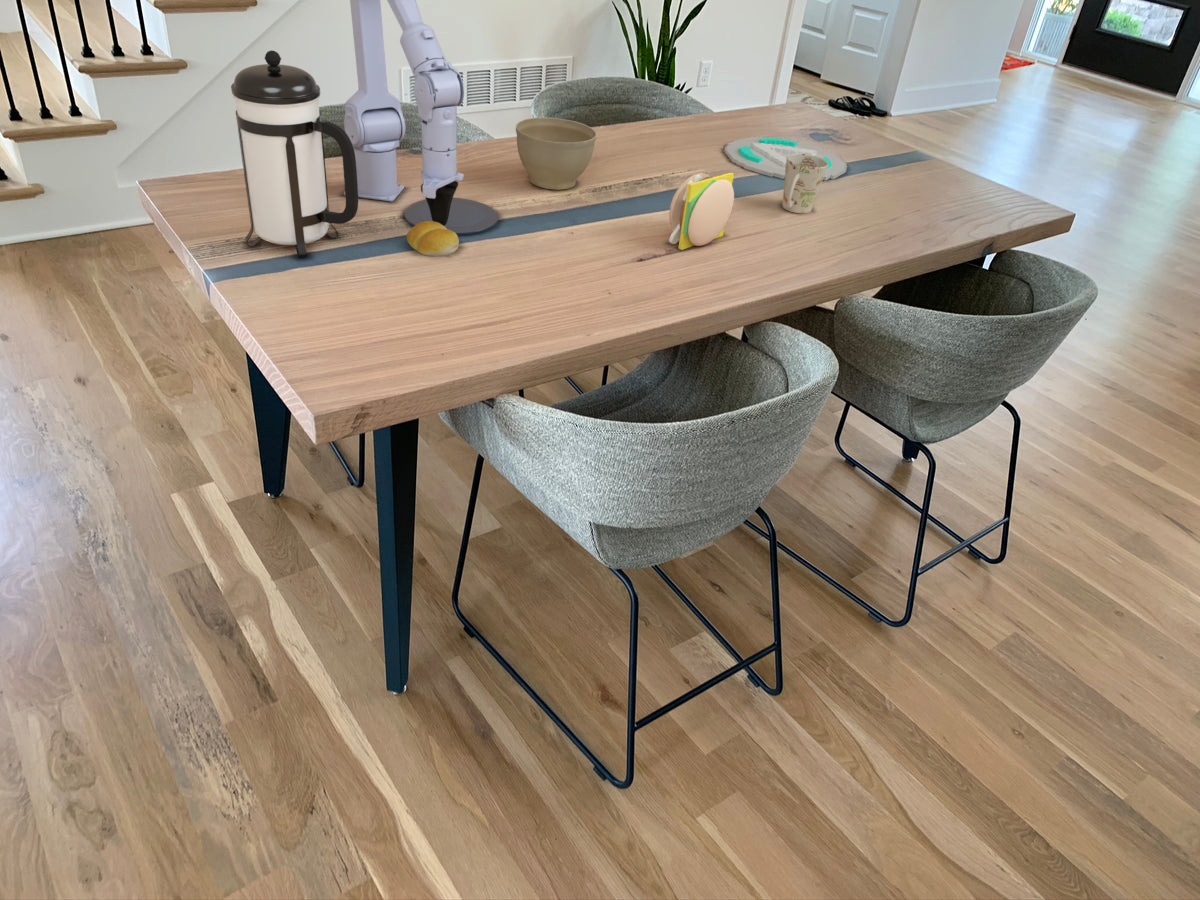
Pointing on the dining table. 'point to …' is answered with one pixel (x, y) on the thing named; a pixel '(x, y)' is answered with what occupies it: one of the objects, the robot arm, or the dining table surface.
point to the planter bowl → (554, 150)
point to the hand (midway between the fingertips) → (440, 224)
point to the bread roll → (432, 239)
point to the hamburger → (701, 209)
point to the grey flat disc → (778, 155)
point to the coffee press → (288, 155)
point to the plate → (457, 216)
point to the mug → (802, 181)
